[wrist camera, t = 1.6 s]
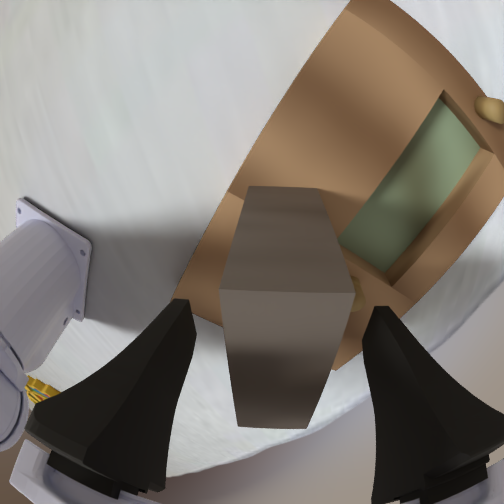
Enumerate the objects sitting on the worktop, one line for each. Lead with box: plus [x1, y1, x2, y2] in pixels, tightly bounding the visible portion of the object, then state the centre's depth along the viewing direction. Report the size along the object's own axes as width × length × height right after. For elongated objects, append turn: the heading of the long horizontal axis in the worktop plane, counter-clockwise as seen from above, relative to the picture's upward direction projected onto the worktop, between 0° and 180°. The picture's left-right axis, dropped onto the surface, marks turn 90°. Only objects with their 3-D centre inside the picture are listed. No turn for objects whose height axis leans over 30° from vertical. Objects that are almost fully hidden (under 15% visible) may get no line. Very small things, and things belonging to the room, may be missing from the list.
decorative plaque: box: [24, 375, 61, 404], centre depth 41 cm, size 30×3×30 cm
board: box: [170, 0, 504, 371], centre depth 12 cm, size 20×13×3 cm, turn 151°
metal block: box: [219, 186, 356, 429], centre depth 11 cm, size 8×3×7 cm, turn 1°
